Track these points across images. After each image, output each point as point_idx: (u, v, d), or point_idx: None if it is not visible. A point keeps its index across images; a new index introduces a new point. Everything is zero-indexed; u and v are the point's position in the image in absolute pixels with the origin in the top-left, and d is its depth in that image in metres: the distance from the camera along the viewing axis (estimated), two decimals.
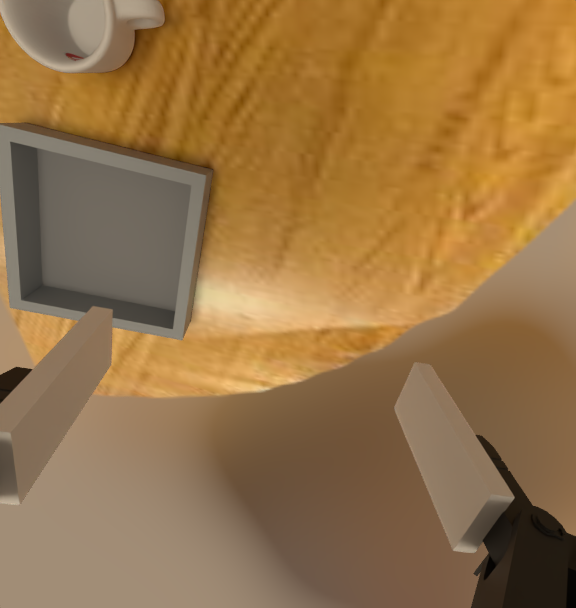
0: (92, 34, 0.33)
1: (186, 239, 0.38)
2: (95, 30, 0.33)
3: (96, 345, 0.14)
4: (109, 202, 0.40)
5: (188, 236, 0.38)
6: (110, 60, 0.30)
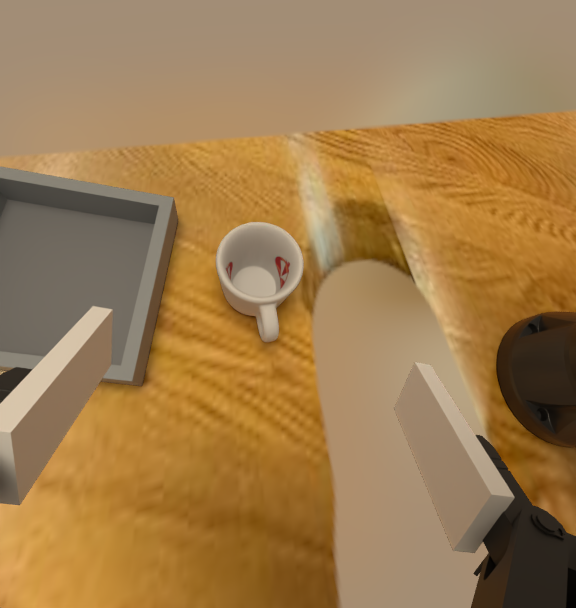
0: (249, 283, 0.41)
1: None
2: (252, 285, 0.40)
3: (96, 345, 0.14)
4: (104, 279, 0.39)
5: None
6: (229, 296, 0.35)
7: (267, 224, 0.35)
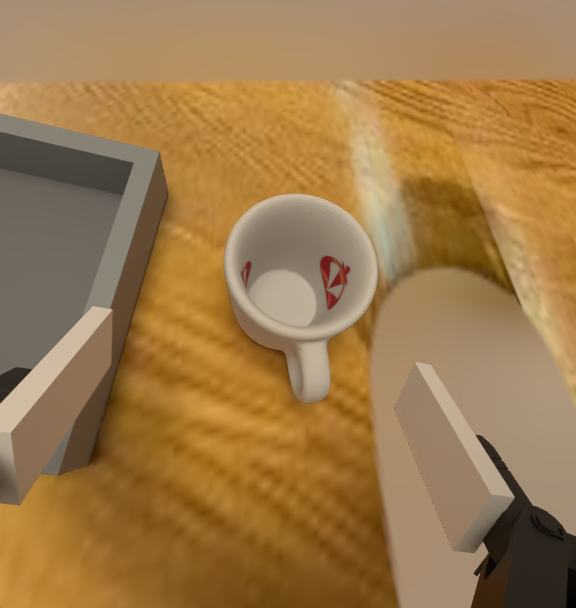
0: (274, 296, 0.26)
1: None
2: (279, 300, 0.25)
3: (96, 345, 0.14)
4: (41, 280, 0.24)
5: None
6: (245, 321, 0.20)
7: (316, 198, 0.20)
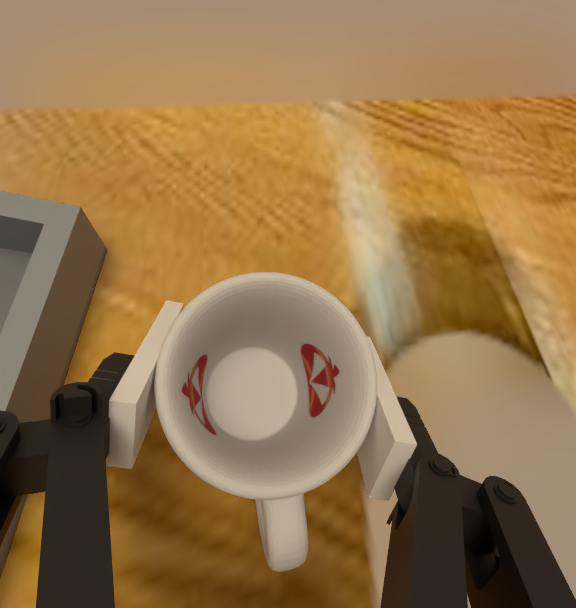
0: (243, 384, 0.20)
1: None
2: (248, 389, 0.20)
3: None
4: None
5: None
6: None
7: (293, 279, 0.14)
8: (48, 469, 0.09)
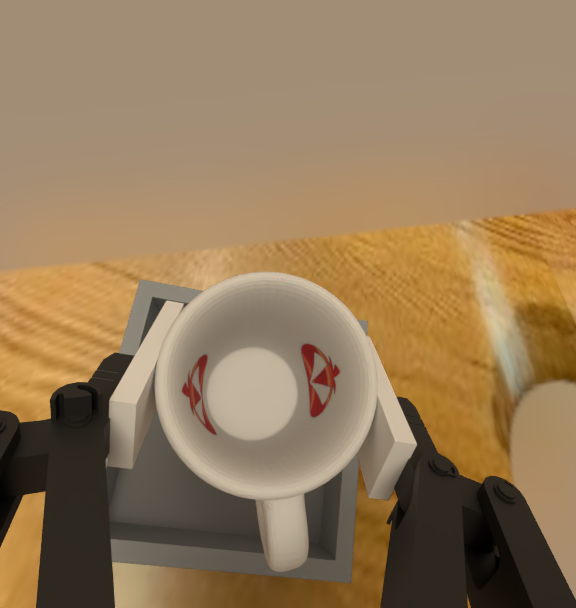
0: (243, 384, 0.20)
1: (257, 556, 0.25)
2: (249, 389, 0.20)
3: None
4: None
5: (262, 559, 0.25)
6: None
7: (293, 279, 0.14)
8: (48, 469, 0.09)
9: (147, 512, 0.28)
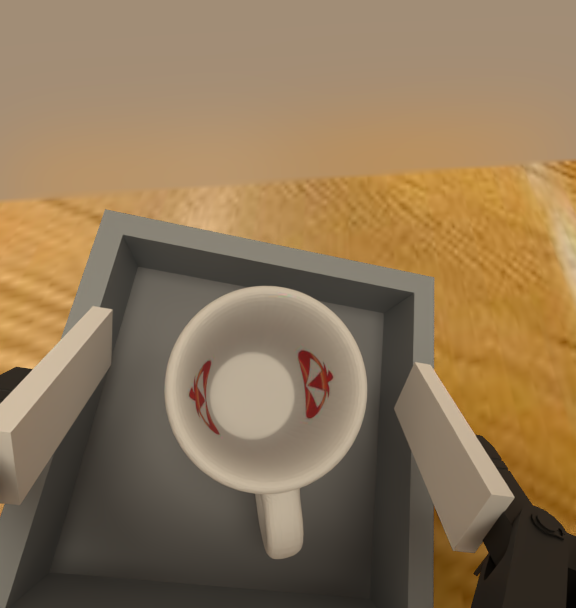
0: (243, 386, 0.21)
1: None
2: (249, 392, 0.21)
3: (96, 345, 0.14)
4: None
5: None
6: None
7: (290, 292, 0.16)
8: None
9: (114, 557, 0.18)
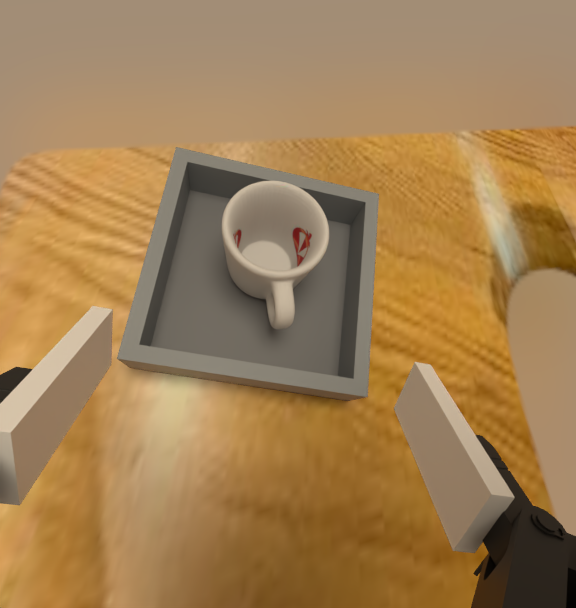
0: (259, 260, 0.34)
1: (285, 370, 0.28)
2: (262, 263, 0.34)
3: (96, 345, 0.14)
4: None
5: (289, 373, 0.28)
6: (236, 269, 0.28)
7: (287, 184, 0.29)
8: None
9: (184, 350, 0.31)
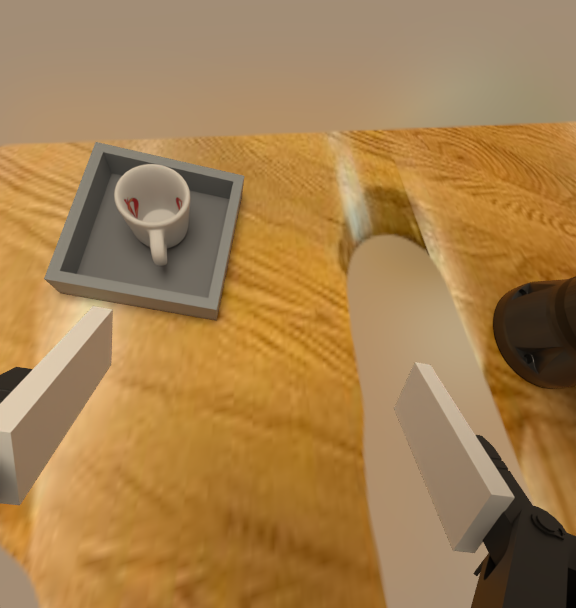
0: (157, 222, 0.48)
1: (159, 290, 0.42)
2: None
3: (96, 345, 0.14)
4: (187, 238, 0.49)
5: (162, 292, 0.42)
6: (127, 223, 0.42)
7: (163, 166, 0.42)
8: None
9: None
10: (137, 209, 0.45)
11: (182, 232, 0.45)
